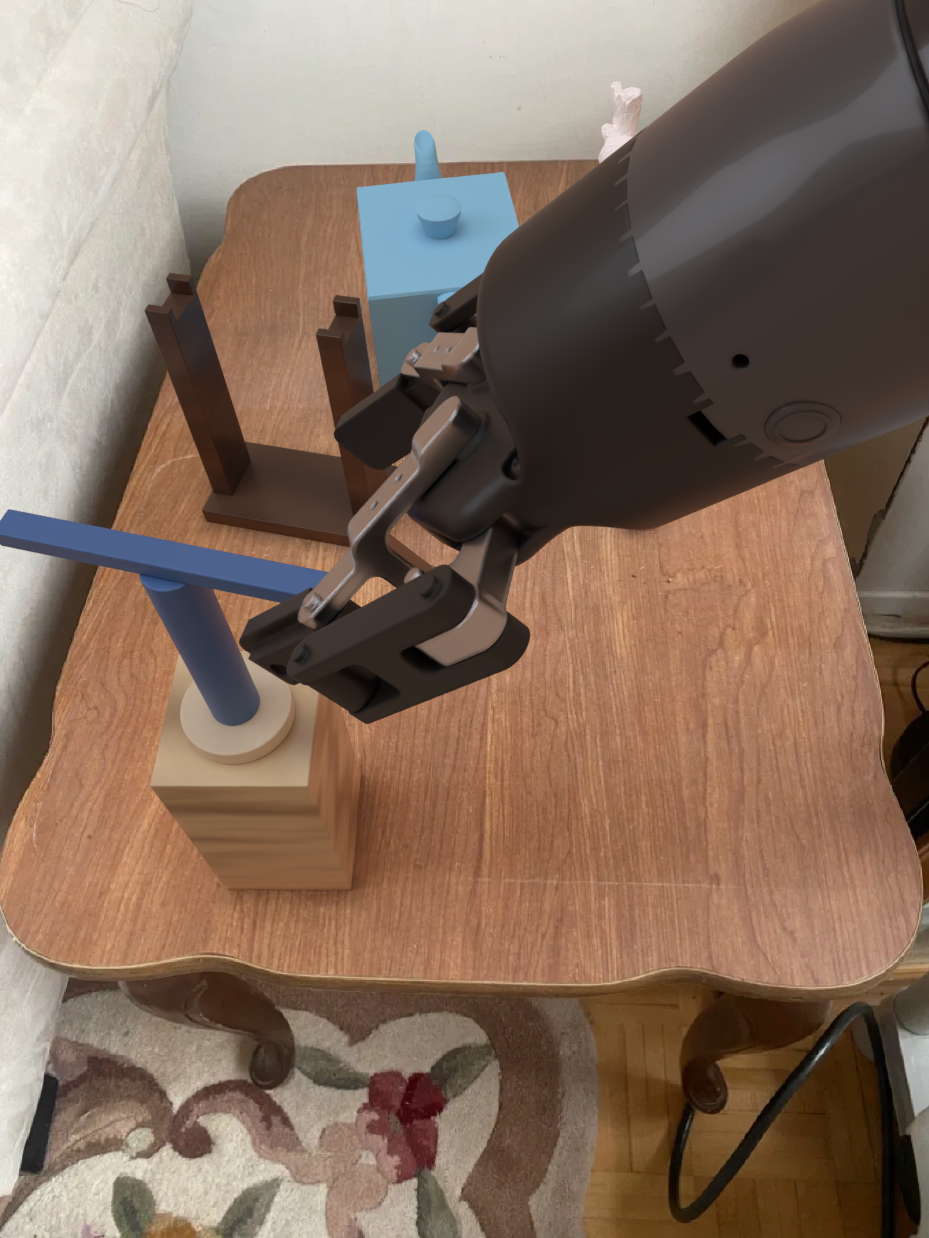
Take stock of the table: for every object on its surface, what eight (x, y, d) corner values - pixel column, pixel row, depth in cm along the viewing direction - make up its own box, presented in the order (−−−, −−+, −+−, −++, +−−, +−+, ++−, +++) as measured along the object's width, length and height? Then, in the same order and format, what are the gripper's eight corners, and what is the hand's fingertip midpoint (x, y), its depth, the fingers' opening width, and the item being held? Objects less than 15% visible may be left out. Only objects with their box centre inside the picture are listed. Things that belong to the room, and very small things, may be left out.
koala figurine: (573, 211, 88) (582, 77, 78) (646, 204, 88) (664, 70, 78) (589, 268, 83) (601, 133, 73) (666, 261, 83) (688, 125, 73)
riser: (351, 890, 53) (308, 786, 41) (226, 889, 53) (148, 785, 42) (361, 774, 57) (324, 649, 45) (245, 774, 57) (178, 650, 46)
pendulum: (358, 796, 41) (311, 648, 31) (87, 732, 43) (-38, 574, 33) (393, 698, 44) (359, 531, 34) (135, 641, 46) (33, 470, 36)
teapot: (535, 436, 72) (541, 280, 60) (388, 453, 71) (366, 299, 60) (494, 259, 84) (493, 101, 73) (369, 272, 84) (347, 116, 72)
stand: (370, 550, 66) (334, 358, 52) (205, 521, 68) (128, 329, 54) (398, 477, 70) (371, 279, 56) (241, 451, 72) (177, 254, 58)
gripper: (689, -30, 21) (297, 322, 33) (571, 411, 14) (113, 670, 25) (861, 214, 25) (453, 455, 36) (844, 674, 17) (334, 795, 29)
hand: (314, 542), depth 31 cm, fingers open, 8 cm apart
